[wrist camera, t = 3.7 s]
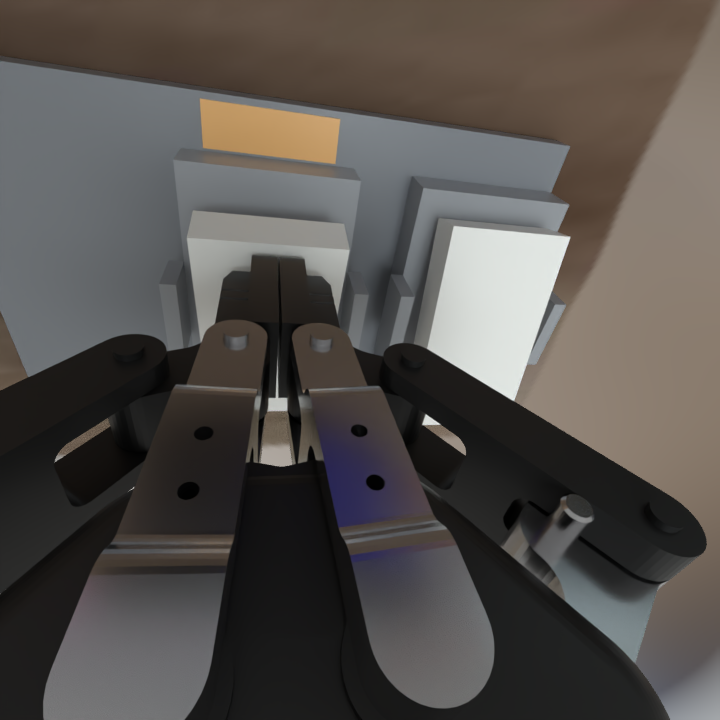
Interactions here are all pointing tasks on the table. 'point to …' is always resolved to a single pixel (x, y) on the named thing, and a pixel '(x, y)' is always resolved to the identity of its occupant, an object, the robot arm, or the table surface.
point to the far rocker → (488, 297)
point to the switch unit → (229, 201)
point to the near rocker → (265, 238)
